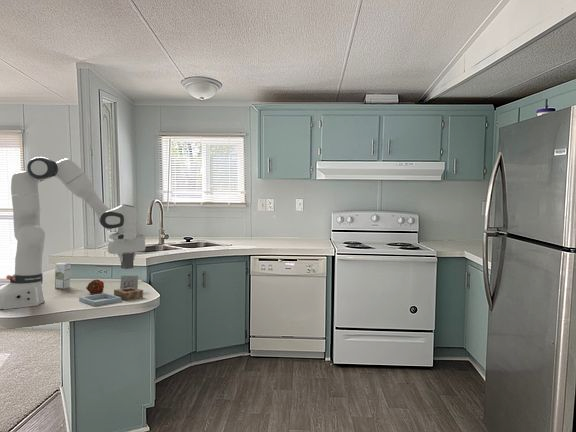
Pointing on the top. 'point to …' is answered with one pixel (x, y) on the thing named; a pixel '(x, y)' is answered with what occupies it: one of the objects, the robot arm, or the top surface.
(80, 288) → the top surface
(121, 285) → the electrical switch
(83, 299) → the tray
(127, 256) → the plug
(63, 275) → the syrup box
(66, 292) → the top surface
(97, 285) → the brown rounded piece
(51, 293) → the top surface
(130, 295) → the holder
